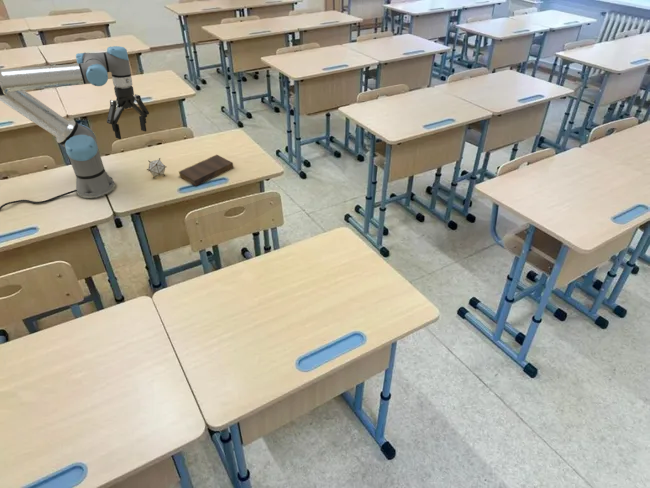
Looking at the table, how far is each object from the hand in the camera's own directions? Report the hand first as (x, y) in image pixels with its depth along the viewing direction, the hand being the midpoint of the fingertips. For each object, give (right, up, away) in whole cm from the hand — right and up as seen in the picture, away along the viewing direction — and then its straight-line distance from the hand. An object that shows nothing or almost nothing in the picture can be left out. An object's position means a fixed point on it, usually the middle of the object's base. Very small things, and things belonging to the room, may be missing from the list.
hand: (131, 134), depth 204 cm
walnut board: (+32, -16, +9) cm, 37 cm away
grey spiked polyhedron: (+10, -18, +6) cm, 21 cm away
